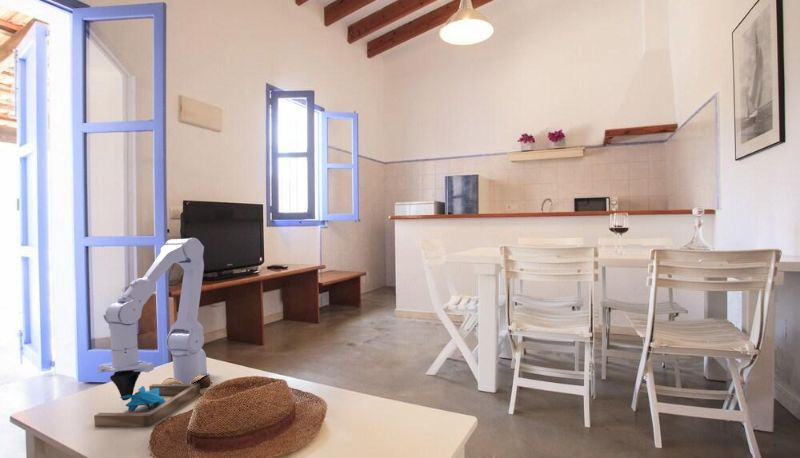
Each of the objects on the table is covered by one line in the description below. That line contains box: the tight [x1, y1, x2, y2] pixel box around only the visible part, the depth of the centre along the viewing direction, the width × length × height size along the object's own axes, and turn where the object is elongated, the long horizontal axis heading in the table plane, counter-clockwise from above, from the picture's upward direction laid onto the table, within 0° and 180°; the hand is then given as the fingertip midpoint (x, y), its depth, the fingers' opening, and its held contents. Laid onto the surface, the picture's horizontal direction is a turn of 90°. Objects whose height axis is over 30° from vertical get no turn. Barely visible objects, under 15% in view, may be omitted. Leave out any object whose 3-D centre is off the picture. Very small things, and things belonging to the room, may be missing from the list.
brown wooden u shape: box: [93, 383, 201, 427], centre depth 103 cm, size 19×14×2 cm
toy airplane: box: [119, 385, 167, 413], centre depth 104 cm, size 12×10×4 cm
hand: (127, 398), depth 104 cm, fingers closed
